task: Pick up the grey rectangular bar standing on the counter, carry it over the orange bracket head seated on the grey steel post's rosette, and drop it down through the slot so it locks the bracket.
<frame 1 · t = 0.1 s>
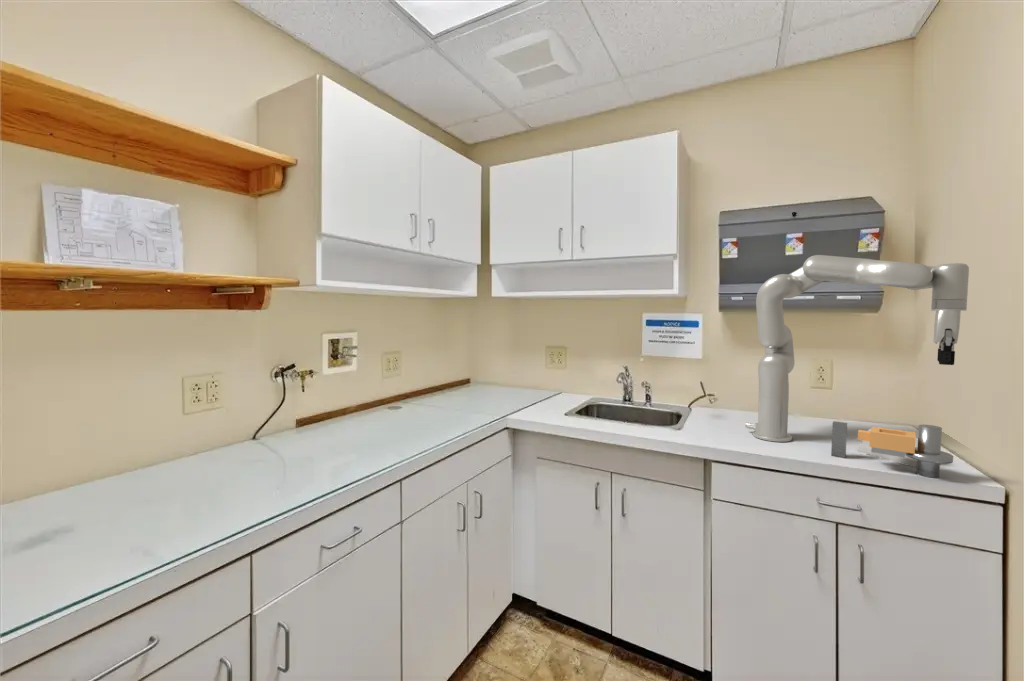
hand: (945, 363, 133), 31 cm above the counter, tool pointing down, fingers open, 9 cm apart
hinge: (892, 458, 143), on the counter
bracket: (885, 438, 133), point 9 cm above the counter
grey rectangular bar: (838, 456, 144), on the counter
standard: (927, 474, 127), on the counter
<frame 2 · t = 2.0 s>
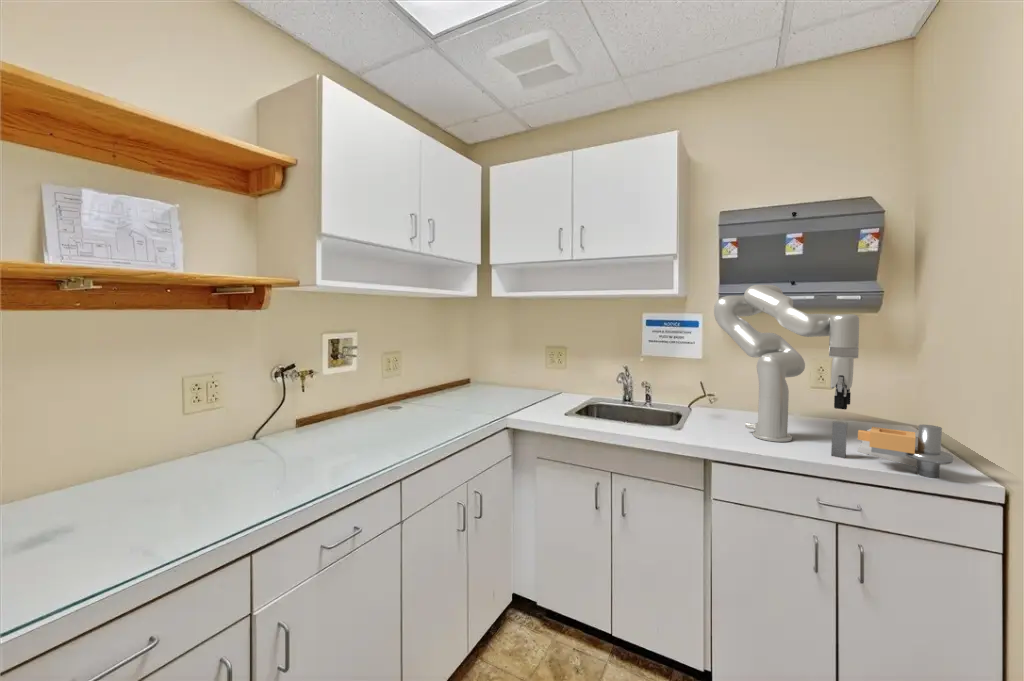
hand: (842, 406, 143), 16 cm above the counter, tool pointing down, fingers open, 9 cm apart
nothing on the counter moved.
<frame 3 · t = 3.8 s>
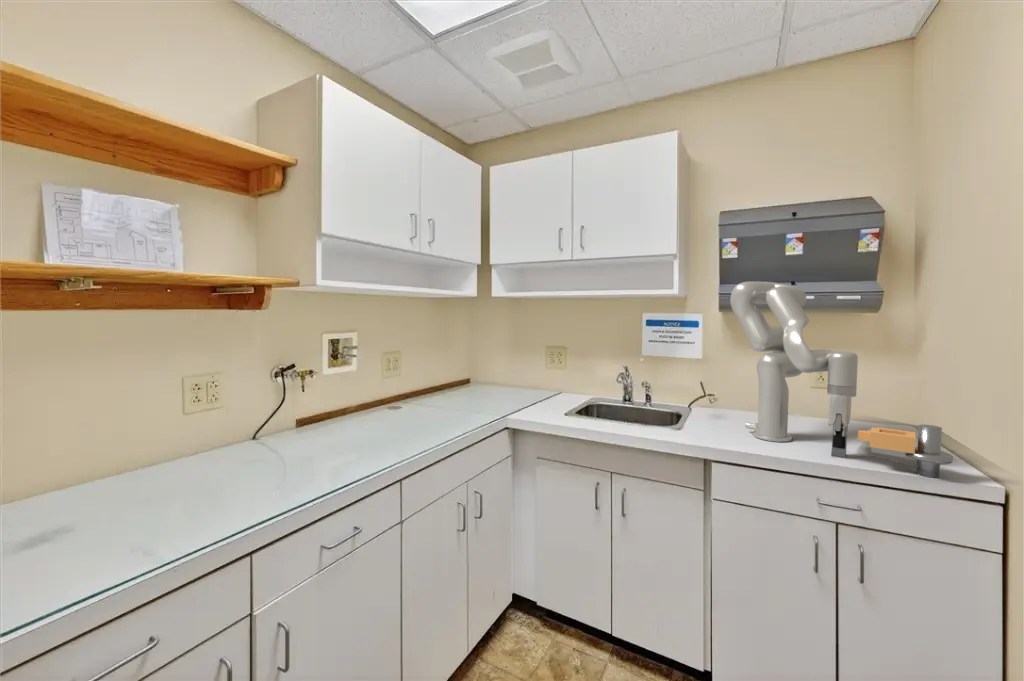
hand: (839, 446, 144), 3 cm above the counter, tool pointing down, fingers closed on grey rectangular bar, 2 cm apart
grey rectangular bar: (838, 456, 144), on the counter, touching gripper
everything else where it was.
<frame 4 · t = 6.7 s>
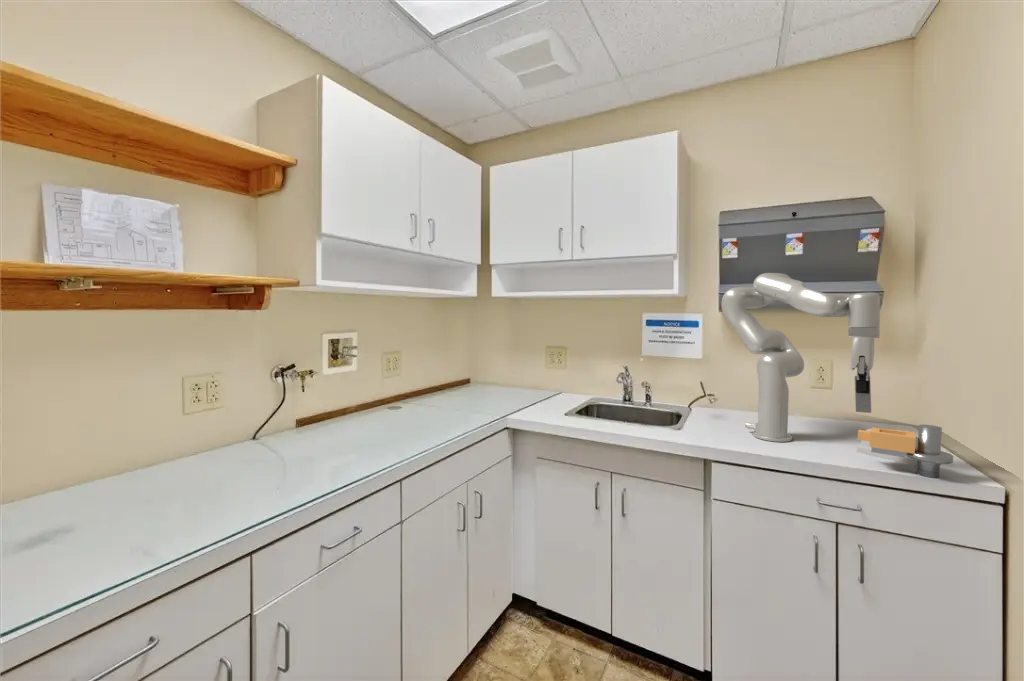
hand: (863, 392, 138), 22 cm above the counter, tool pointing down, fingers closed on grey rectangular bar
grey rectangular bar: (863, 411, 138), point 16 cm above the counter, touching gripper
everything else where it was.
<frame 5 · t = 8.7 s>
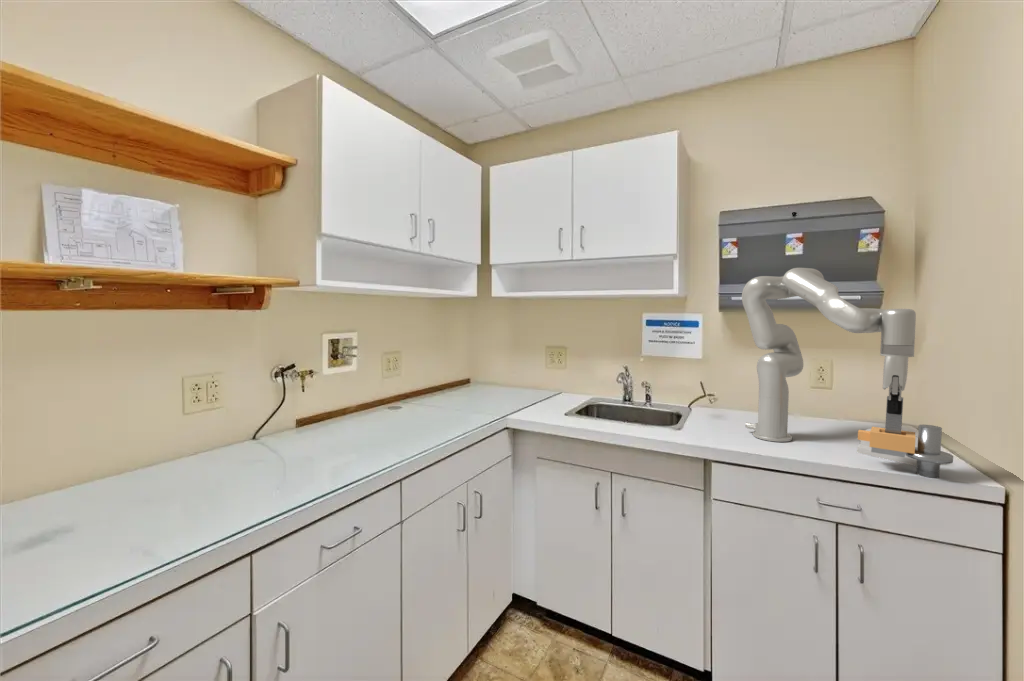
hand: (894, 412, 132), 17 cm above the counter, tool pointing down, fingers closed on grey rectangular bar
grey rectangular bar: (893, 433, 132), point 10 cm above the counter, touching gripper
everything else where it was.
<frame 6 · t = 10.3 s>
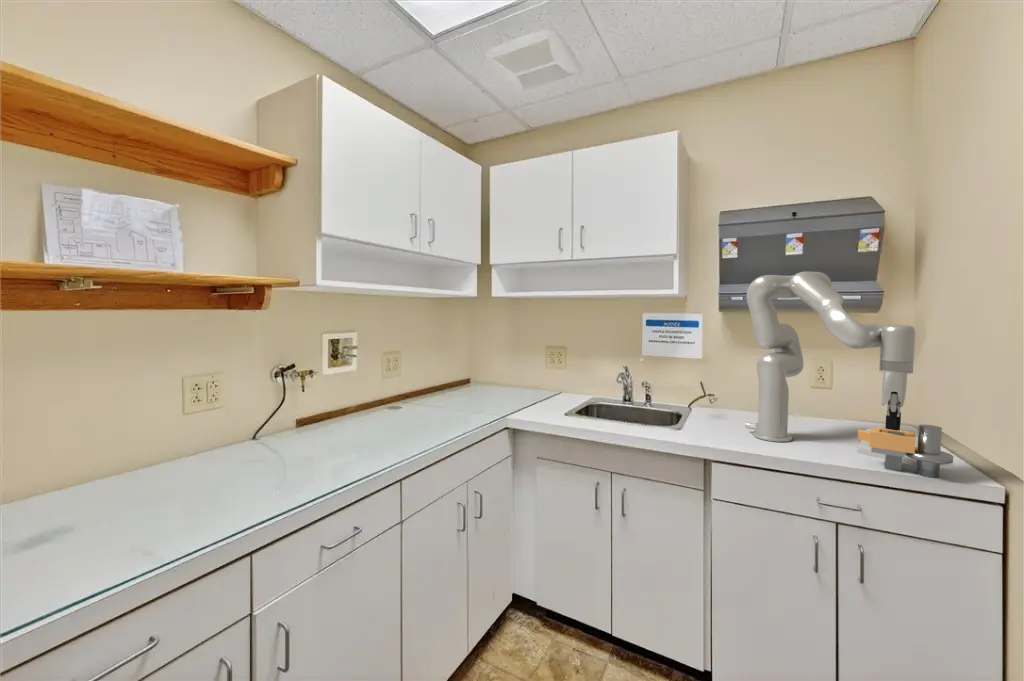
hand: (892, 426, 132), 13 cm above the counter, tool pointing down, fingers open, 6 cm apart
grey rectangular bar: (892, 468, 133), resting in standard
everything else where it was.
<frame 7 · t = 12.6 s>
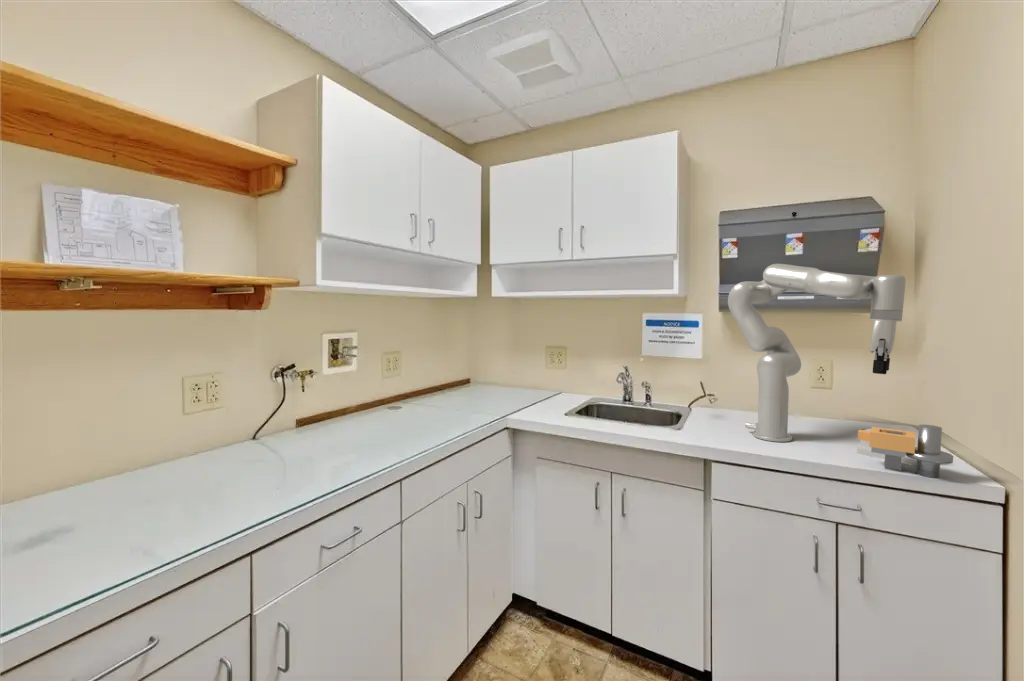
hand: (880, 371, 137), 28 cm above the counter, tool pointing down, fingers open, 9 cm apart
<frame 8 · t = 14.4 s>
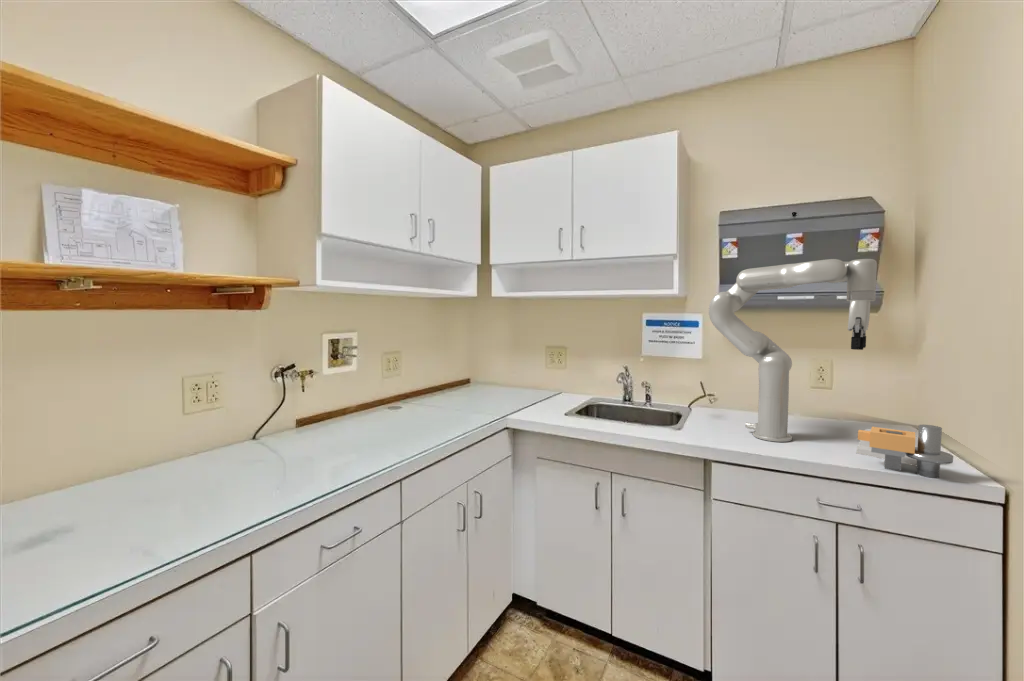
hand: (858, 348, 149), 34 cm above the counter, tool pointing down, fingers open, 9 cm apart
at the end: grey rectangular bar 0.4 cm from the target spot on the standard, point 0.0 cm above the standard's base; grey rectangular bar tilted 0°; the gripper is holding nothing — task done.
